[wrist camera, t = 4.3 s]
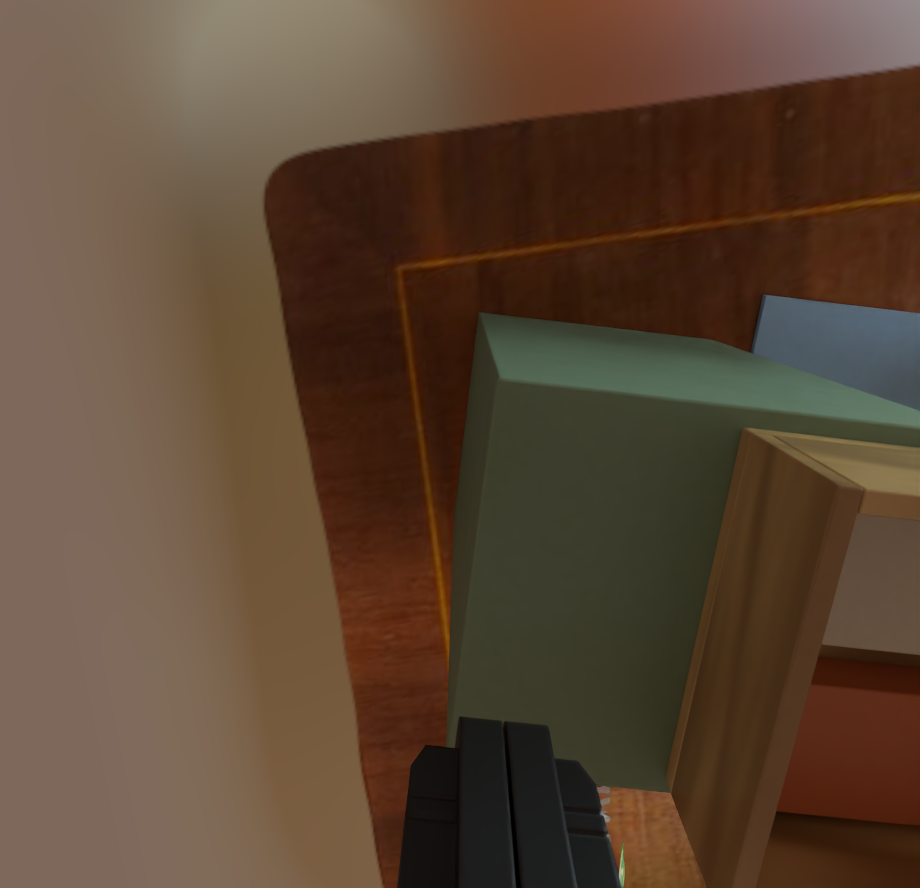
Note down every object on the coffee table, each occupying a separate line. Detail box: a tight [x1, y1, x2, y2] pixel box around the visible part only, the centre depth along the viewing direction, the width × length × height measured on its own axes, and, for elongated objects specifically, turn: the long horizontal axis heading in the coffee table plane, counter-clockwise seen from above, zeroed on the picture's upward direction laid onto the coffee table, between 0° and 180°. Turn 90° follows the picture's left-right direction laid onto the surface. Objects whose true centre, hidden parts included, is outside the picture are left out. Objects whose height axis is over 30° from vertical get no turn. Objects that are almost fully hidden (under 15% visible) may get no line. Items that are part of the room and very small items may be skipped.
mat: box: [750, 295, 920, 411], centre depth 37 cm, size 10×10×1 cm
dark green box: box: [446, 312, 920, 793], centre depth 28 cm, size 12×11×20 cm
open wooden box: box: [665, 428, 920, 888], centre depth 16 cm, size 8×10×5 cm
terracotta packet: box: [776, 657, 920, 826], centre depth 18 cm, size 5×4×1 cm
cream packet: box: [822, 513, 920, 655], centre depth 17 cm, size 5×4×1 cm
